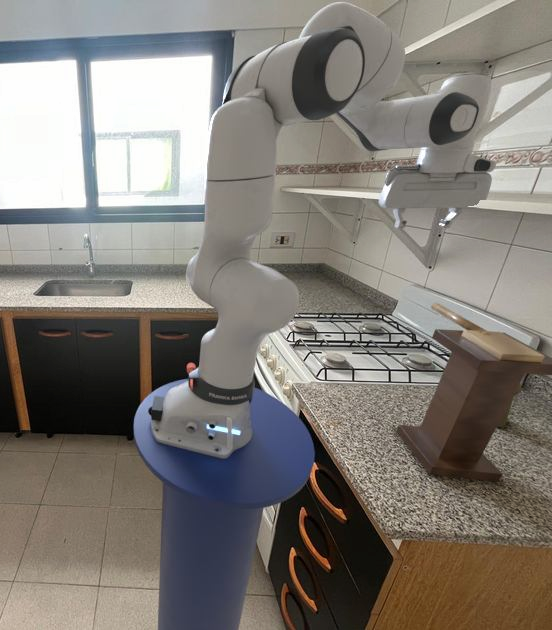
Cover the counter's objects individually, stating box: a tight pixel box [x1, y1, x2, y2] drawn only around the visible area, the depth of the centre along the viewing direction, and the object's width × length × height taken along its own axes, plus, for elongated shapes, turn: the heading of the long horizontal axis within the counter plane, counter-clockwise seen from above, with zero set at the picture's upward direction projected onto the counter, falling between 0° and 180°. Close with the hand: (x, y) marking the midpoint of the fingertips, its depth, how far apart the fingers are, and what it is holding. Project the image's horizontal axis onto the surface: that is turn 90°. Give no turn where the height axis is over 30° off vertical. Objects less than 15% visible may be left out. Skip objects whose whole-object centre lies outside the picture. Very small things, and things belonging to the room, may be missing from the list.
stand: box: [395, 328, 552, 482], centre depth 67 cm, size 12×12×26 cm
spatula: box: [430, 302, 545, 362], centre depth 67 cm, size 6×23×2 cm, turn 171°
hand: (421, 227), depth 81 cm, fingers open, 8 cm apart
